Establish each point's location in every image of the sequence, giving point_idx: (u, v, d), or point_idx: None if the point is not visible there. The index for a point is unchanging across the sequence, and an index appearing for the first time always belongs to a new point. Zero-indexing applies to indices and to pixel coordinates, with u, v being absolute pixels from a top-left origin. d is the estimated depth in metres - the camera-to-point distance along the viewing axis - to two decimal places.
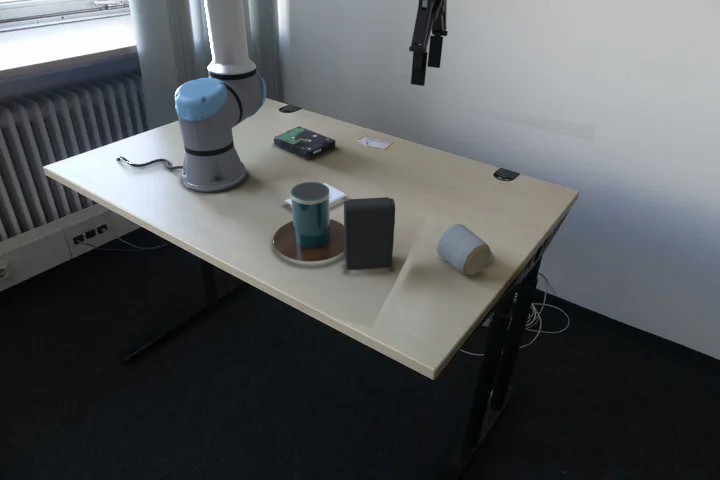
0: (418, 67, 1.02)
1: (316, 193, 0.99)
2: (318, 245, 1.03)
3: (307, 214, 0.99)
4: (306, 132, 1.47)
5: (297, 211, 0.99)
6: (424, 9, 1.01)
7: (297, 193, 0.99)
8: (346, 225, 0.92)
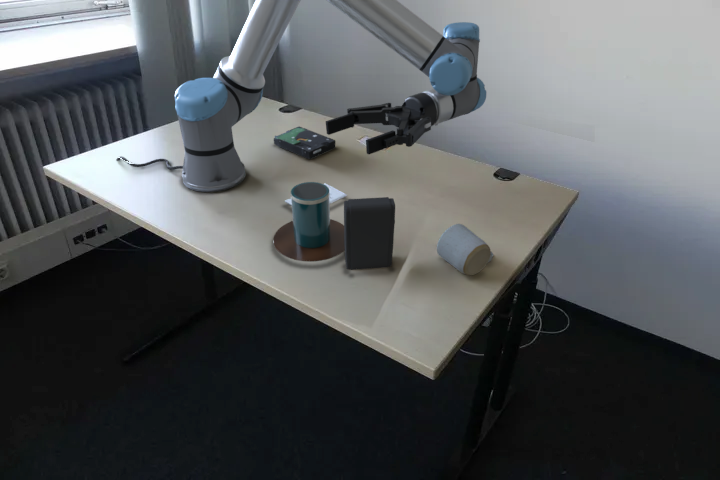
0: (388, 144, 0.97)
1: (316, 193, 0.99)
2: (318, 245, 1.03)
3: (307, 214, 0.99)
4: (306, 132, 1.47)
5: (297, 211, 0.99)
6: None
7: (297, 193, 0.99)
8: (346, 225, 0.92)
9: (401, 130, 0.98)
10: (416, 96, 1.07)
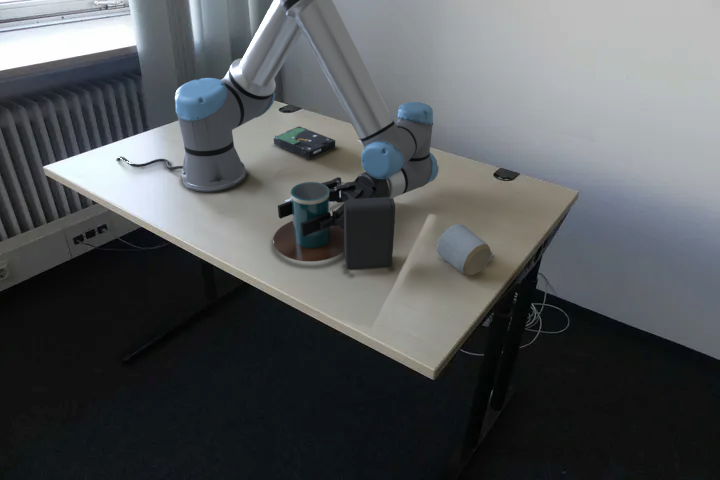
0: (323, 227, 0.99)
1: (316, 193, 0.99)
2: (318, 245, 1.03)
3: (307, 214, 0.99)
4: (306, 132, 1.47)
5: (297, 211, 0.99)
6: (359, 198, 1.06)
7: (297, 193, 0.99)
8: (346, 225, 0.92)
9: (335, 213, 0.99)
10: (369, 174, 1.08)
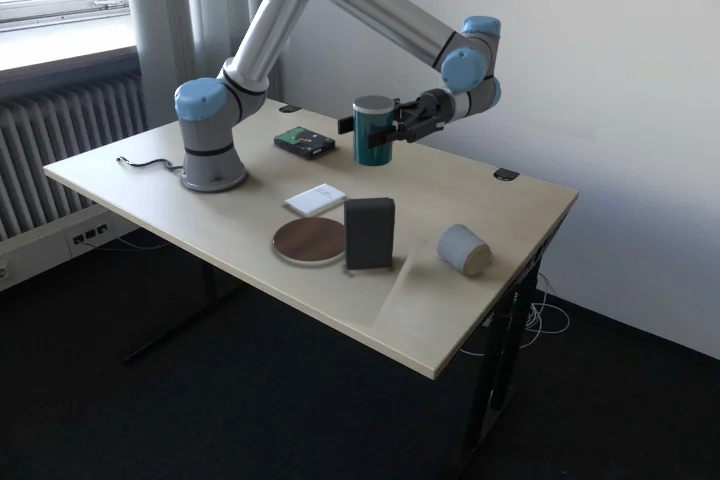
0: (389, 140, 0.91)
1: (381, 104, 0.92)
2: (380, 163, 0.96)
3: (371, 125, 0.91)
4: (306, 132, 1.47)
5: (360, 123, 0.92)
6: (423, 114, 0.98)
7: (360, 103, 0.92)
8: (346, 225, 0.92)
9: (402, 125, 0.92)
10: (432, 92, 1.01)
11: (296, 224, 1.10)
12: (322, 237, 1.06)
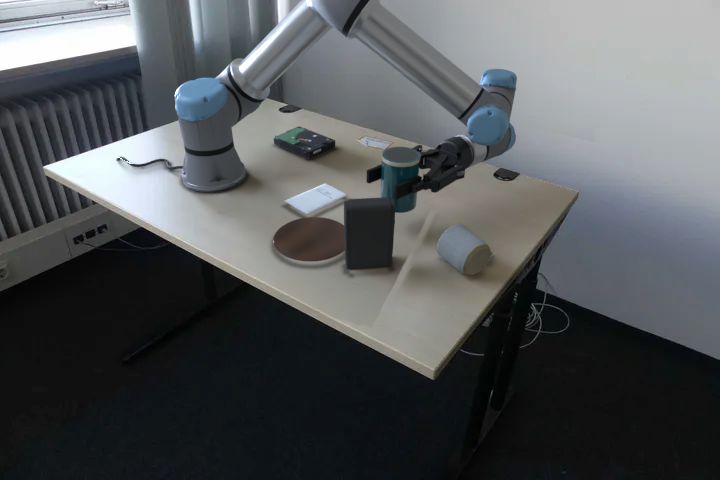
0: (415, 190, 0.99)
1: (408, 157, 0.99)
2: (406, 210, 1.03)
3: (399, 177, 0.99)
4: (306, 132, 1.47)
5: (389, 174, 0.99)
6: (445, 163, 1.06)
7: (389, 156, 0.99)
8: (346, 225, 0.92)
9: (427, 176, 0.99)
10: (453, 141, 1.08)
11: (296, 224, 1.10)
12: (322, 237, 1.06)
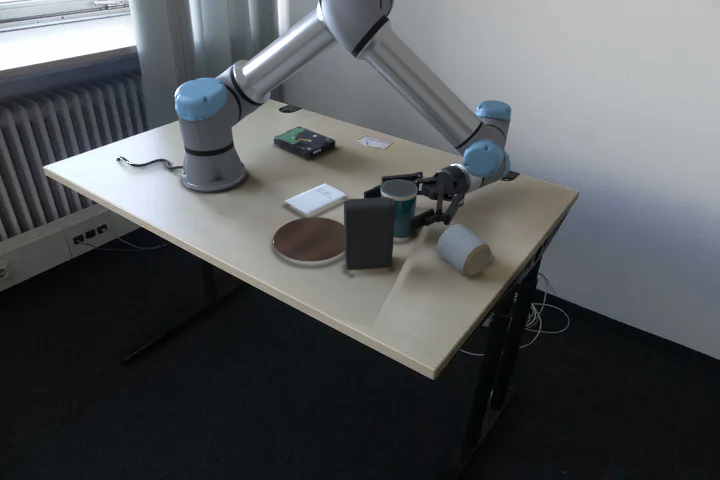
0: (428, 223, 1.02)
1: (406, 190, 1.03)
2: None
3: (397, 209, 1.03)
4: (306, 132, 1.47)
5: None
6: None
7: (387, 190, 1.03)
8: (346, 225, 0.92)
9: (440, 209, 1.02)
10: (449, 170, 1.12)
11: (296, 224, 1.10)
12: (322, 237, 1.06)
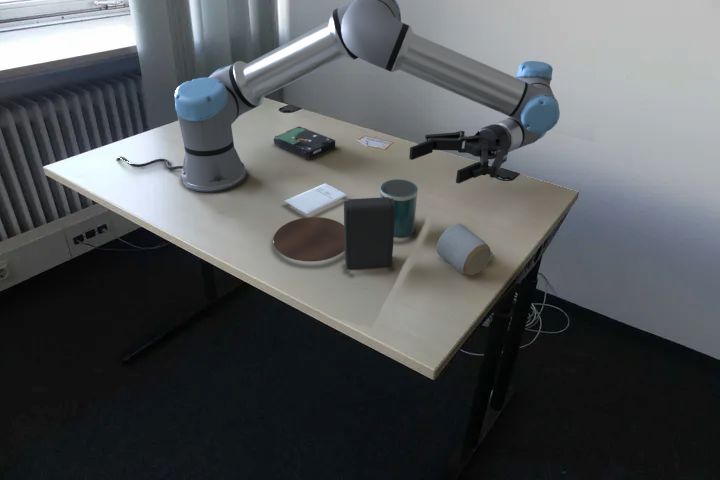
0: (476, 175, 1.05)
1: (406, 190, 1.03)
2: None
3: (397, 209, 1.03)
4: (306, 132, 1.47)
5: None
6: None
7: (387, 190, 1.03)
8: (346, 225, 0.92)
9: (487, 162, 1.06)
10: (492, 128, 1.15)
11: (296, 224, 1.10)
12: (322, 237, 1.06)
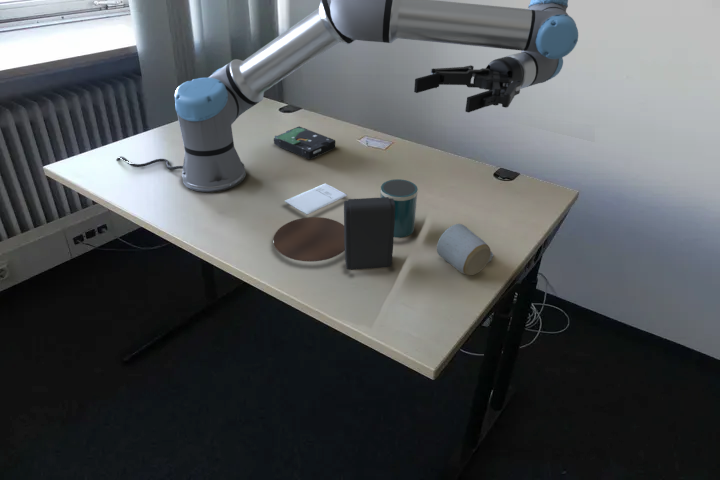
0: (487, 104, 0.96)
1: (406, 190, 1.03)
2: None
3: (397, 209, 1.03)
4: (306, 132, 1.47)
5: None
6: None
7: (387, 190, 1.03)
8: (346, 225, 0.92)
9: (499, 90, 0.97)
10: (503, 59, 1.07)
11: (296, 224, 1.10)
12: (322, 237, 1.06)
